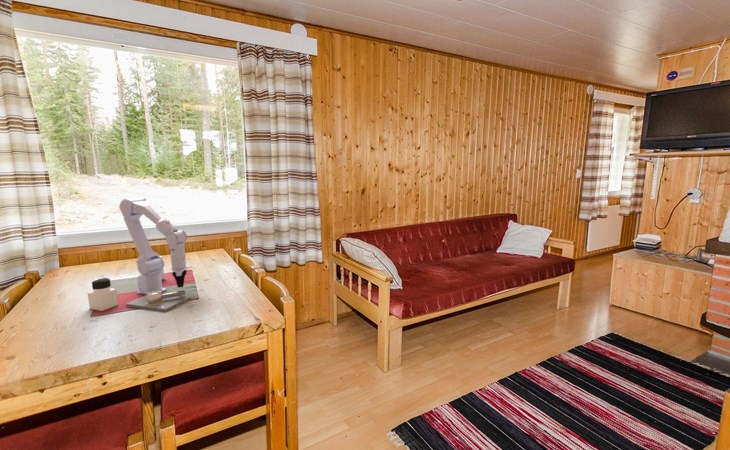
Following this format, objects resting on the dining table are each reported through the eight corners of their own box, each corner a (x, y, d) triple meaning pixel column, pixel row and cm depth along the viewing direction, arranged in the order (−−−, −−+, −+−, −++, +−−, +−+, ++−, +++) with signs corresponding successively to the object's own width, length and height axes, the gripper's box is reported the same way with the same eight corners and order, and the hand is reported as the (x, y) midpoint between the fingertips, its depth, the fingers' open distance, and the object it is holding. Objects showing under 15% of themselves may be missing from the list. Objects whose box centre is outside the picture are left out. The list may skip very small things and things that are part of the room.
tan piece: (147, 304, 147) (147, 296, 146) (146, 300, 151) (145, 291, 151) (186, 297, 155) (185, 289, 154) (183, 293, 160) (183, 285, 159)
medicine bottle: (118, 305, 150) (115, 277, 148) (101, 311, 144) (98, 283, 141) (106, 302, 152) (103, 275, 150) (89, 308, 146) (85, 280, 144)
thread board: (125, 306, 149) (125, 303, 149) (153, 294, 162) (153, 291, 162) (165, 312, 144) (165, 309, 144) (190, 299, 157) (190, 296, 157)
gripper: (188, 260, 154) (190, 290, 157) (188, 253, 167) (190, 280, 170) (169, 262, 151) (172, 293, 154) (171, 254, 164) (173, 282, 167)
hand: (180, 286), depth 161 cm, fingers closed
